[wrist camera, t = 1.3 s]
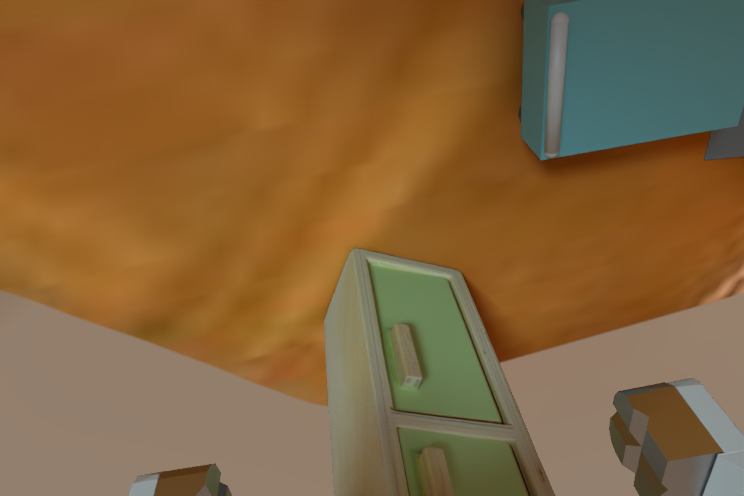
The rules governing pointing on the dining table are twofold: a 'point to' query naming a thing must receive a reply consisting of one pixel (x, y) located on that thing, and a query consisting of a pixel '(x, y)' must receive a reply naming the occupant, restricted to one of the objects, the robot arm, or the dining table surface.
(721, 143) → the loading dock
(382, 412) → the toy refrigerator
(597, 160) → the dining table surface
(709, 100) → the teal handled box
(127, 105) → the dining table surface
